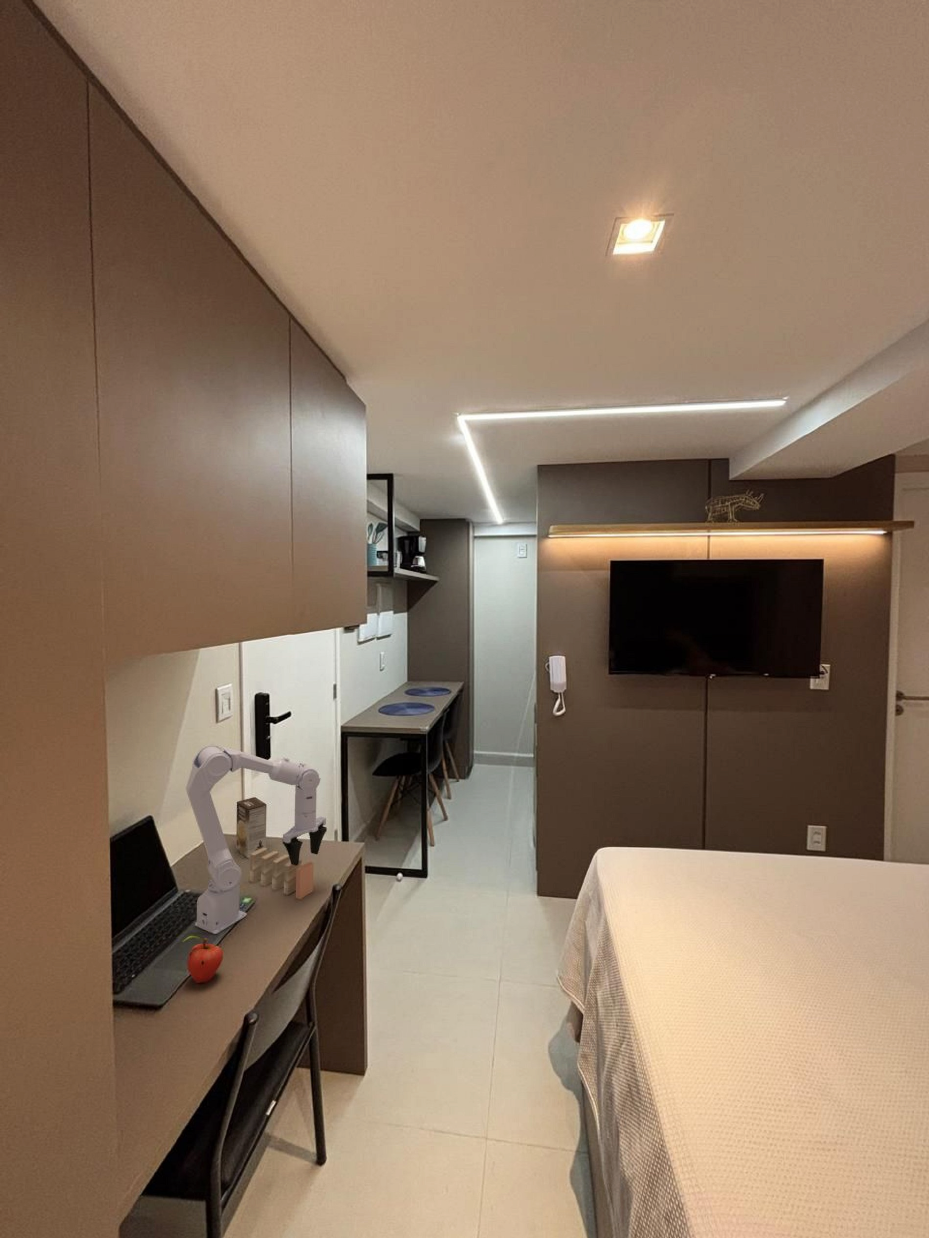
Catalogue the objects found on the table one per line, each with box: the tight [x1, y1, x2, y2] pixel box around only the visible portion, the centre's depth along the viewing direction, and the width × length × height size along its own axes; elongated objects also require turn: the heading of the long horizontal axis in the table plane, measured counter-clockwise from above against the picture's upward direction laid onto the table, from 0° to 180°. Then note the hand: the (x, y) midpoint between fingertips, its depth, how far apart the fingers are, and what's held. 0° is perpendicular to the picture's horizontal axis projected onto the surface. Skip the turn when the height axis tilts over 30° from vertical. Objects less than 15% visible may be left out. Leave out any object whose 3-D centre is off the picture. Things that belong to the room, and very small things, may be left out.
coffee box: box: [235, 796, 268, 859], centre depth 175 cm, size 9×6×16 cm
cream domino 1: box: [249, 847, 269, 883], centre depth 157 cm, size 2×5×8 cm, turn 152°
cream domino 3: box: [271, 854, 290, 892], centre depth 153 cm, size 2×5×8 cm, turn 152°
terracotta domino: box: [295, 861, 314, 900], centre depth 149 cm, size 2×5×8 cm, turn 152°
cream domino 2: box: [260, 850, 280, 887], centre depth 155 cm, size 2×5×8 cm, turn 152°
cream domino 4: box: [283, 857, 303, 896], centre depth 151 cm, size 2×5×8 cm, turn 152°
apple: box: [181, 935, 224, 984], centre depth 114 cm, size 8×7×10 cm
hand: (304, 858), depth 149 cm, fingers open, 7 cm apart
